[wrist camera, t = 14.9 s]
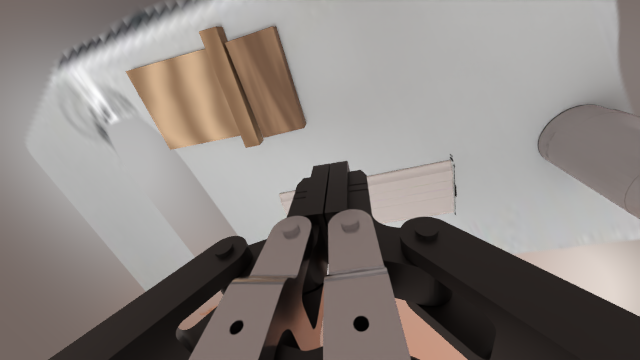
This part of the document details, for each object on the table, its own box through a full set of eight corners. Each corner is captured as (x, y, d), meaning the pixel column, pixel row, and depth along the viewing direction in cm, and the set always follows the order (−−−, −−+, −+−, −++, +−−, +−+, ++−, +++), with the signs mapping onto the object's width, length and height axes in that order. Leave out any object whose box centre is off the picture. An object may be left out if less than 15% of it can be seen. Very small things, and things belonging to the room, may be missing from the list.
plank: (272, 26, 32) (224, 42, 34) (304, 127, 39) (263, 137, 40) (276, 26, 34) (232, 42, 36) (306, 122, 41) (267, 132, 42)
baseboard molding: (277, 185, 48) (297, 231, 54) (273, 194, 46) (295, 241, 51) (449, 150, 41) (451, 207, 47) (455, 158, 39) (457, 217, 45)
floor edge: (222, 27, 35) (215, 26, 33) (263, 140, 43) (259, 145, 41) (125, 56, 38) (113, 57, 36) (180, 156, 46) (173, 161, 44)
